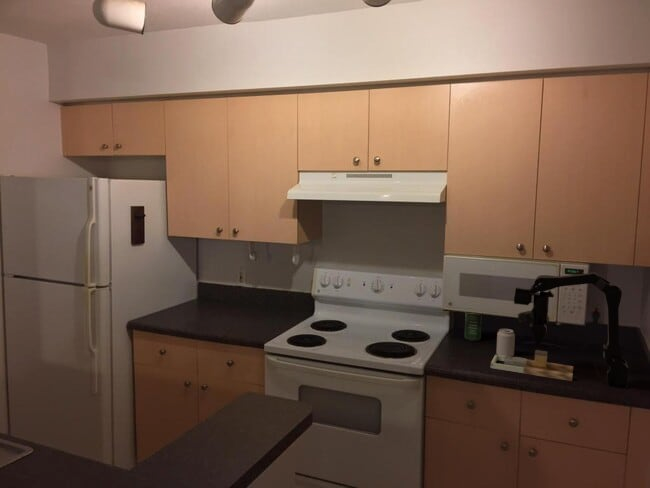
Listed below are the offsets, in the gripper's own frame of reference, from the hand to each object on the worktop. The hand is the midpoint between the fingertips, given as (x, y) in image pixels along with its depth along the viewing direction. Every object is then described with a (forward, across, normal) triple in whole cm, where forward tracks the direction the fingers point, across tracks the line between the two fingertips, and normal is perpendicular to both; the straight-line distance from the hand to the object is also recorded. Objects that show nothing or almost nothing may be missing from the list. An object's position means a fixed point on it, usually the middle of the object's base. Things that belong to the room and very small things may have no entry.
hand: (538, 343), depth 216 cm
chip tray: (+12, 0, -11) cm, 17 cm away
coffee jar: (+13, -34, -32) cm, 49 cm away
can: (+13, -15, -14) cm, 24 cm away
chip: (+12, 0, -7) cm, 14 cm away
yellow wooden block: (+11, 0, +1) cm, 11 cm away
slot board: (+12, 0, +4) cm, 13 cm away
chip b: (+12, 0, -11) cm, 16 cm away
